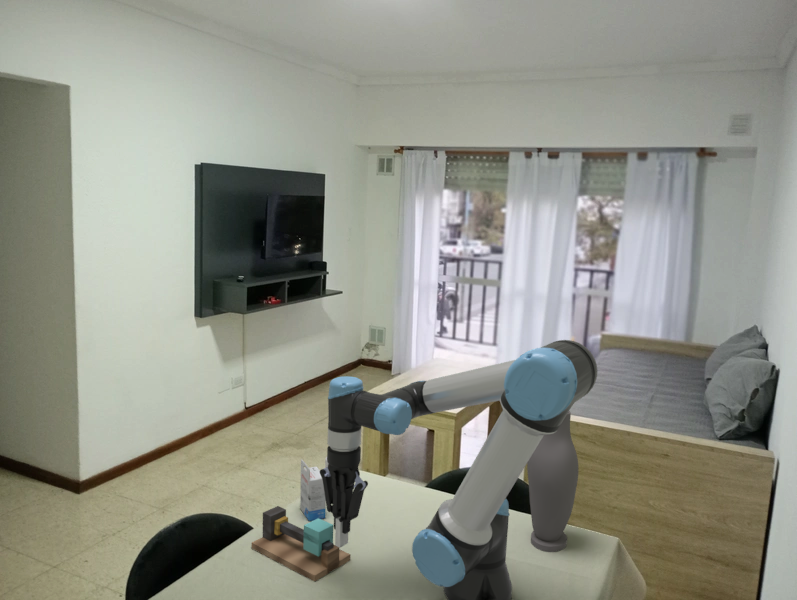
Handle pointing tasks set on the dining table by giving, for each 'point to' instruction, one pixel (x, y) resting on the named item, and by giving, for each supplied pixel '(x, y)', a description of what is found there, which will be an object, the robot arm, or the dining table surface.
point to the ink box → (312, 493)
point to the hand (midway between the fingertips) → (341, 544)
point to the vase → (552, 487)
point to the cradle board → (296, 547)
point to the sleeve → (317, 535)
